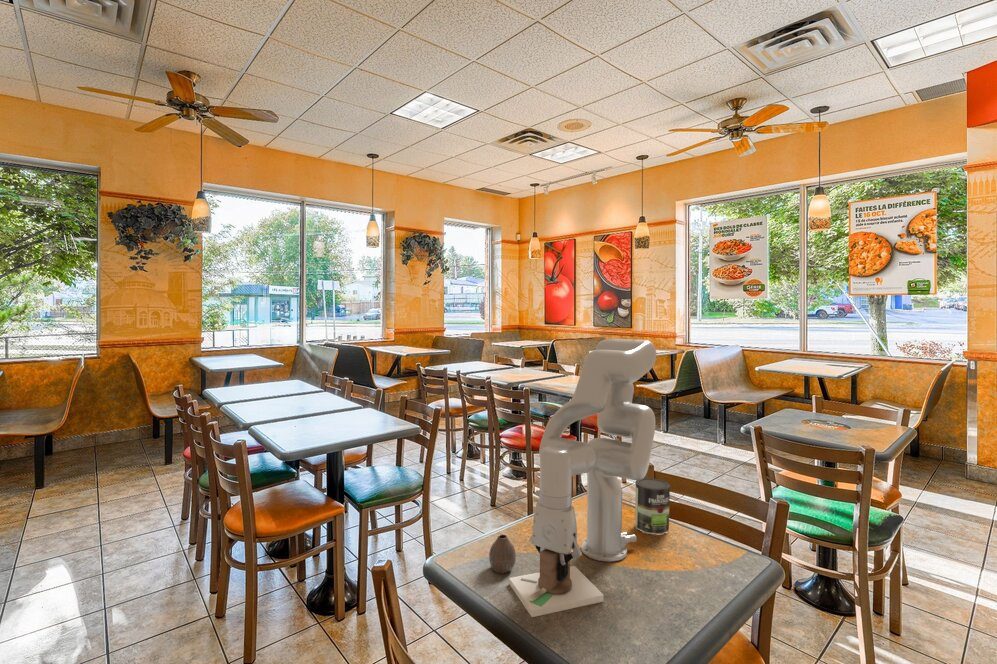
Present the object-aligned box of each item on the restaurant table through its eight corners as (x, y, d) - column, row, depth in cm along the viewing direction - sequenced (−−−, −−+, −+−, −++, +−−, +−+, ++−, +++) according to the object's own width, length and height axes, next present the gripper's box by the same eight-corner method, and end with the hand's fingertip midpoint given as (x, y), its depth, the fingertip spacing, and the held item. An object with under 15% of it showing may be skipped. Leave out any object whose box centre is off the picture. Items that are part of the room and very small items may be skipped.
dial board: (574, 571, 127) (574, 565, 127) (603, 601, 114) (603, 594, 114) (509, 583, 121) (509, 577, 121) (531, 617, 108) (531, 609, 108)
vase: (513, 578, 124) (513, 543, 123) (486, 575, 125) (486, 541, 125) (517, 564, 130) (517, 531, 130) (492, 561, 132) (492, 529, 132)
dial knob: (551, 572, 123) (552, 537, 123) (578, 584, 117) (579, 548, 117) (517, 593, 113) (517, 556, 113) (545, 608, 108) (545, 568, 108)
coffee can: (676, 534, 149) (676, 488, 148) (644, 537, 147) (645, 490, 146) (658, 520, 159) (659, 476, 158) (628, 522, 157) (629, 478, 156)
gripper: (517, 496, 118) (516, 571, 119) (580, 513, 109) (579, 594, 109) (533, 487, 124) (533, 559, 125) (594, 502, 115) (593, 580, 115)
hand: (554, 575), depth 117 cm, fingers closed on dial knob, 3 cm apart
